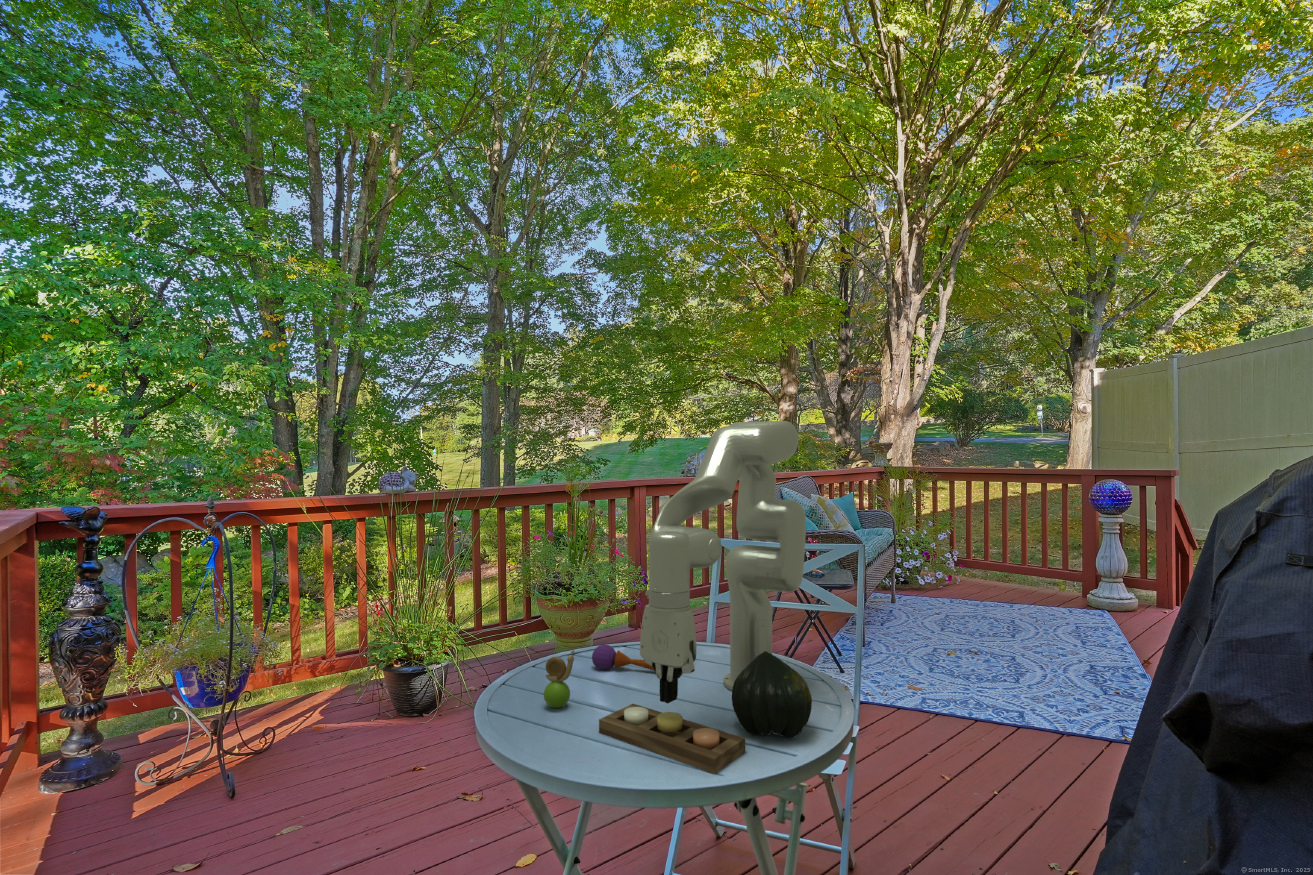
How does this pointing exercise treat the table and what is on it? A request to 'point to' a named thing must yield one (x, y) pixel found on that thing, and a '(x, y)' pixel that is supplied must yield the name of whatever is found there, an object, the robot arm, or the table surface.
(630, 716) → the cream button
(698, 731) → the terracotta button
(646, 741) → the button panel
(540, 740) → the table surface
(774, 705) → the squash
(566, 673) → the snail figurine
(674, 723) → the mustard button
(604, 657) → the purple and brown maraca
